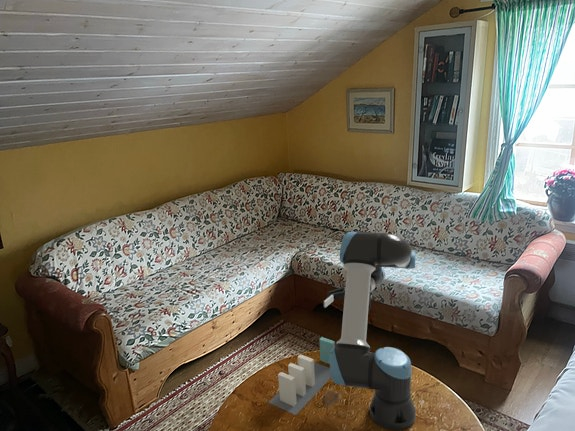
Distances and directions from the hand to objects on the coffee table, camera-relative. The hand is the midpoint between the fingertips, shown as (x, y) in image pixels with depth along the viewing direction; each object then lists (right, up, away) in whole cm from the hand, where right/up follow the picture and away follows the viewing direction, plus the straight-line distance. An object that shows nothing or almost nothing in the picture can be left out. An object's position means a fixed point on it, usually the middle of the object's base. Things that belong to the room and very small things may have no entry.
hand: (338, 308), depth 187 cm
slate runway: (-15, -27, -14) cm, 34 cm away
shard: (-5, -30, -22) cm, 37 cm away
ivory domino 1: (-21, -29, -22) cm, 42 cm away
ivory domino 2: (-17, -27, -18) cm, 36 cm away
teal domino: (-5, -22, -2) cm, 22 cm away
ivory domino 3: (-13, -25, -13) cm, 31 cm away
